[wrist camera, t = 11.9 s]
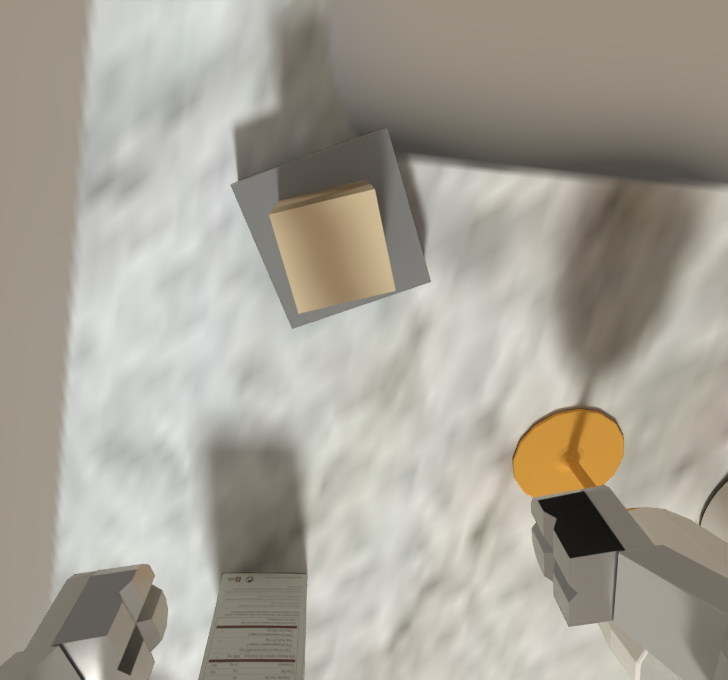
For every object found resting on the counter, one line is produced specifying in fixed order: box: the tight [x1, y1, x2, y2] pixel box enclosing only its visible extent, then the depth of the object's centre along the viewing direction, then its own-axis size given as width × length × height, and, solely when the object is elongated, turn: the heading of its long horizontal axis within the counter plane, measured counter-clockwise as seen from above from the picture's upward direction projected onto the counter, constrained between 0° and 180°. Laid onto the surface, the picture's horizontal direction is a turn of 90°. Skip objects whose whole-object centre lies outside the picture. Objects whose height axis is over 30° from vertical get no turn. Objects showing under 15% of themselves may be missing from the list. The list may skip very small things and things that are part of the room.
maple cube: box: [269, 180, 396, 314], centre depth 25 cm, size 5×5×5 cm
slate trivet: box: [231, 128, 431, 329], centre depth 29 cm, size 9×9×3 cm
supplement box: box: [198, 573, 307, 680], centre depth 36 cm, size 7×7×13 cm
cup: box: [513, 409, 728, 680], centre depth 31 cm, size 9×9×16 cm
